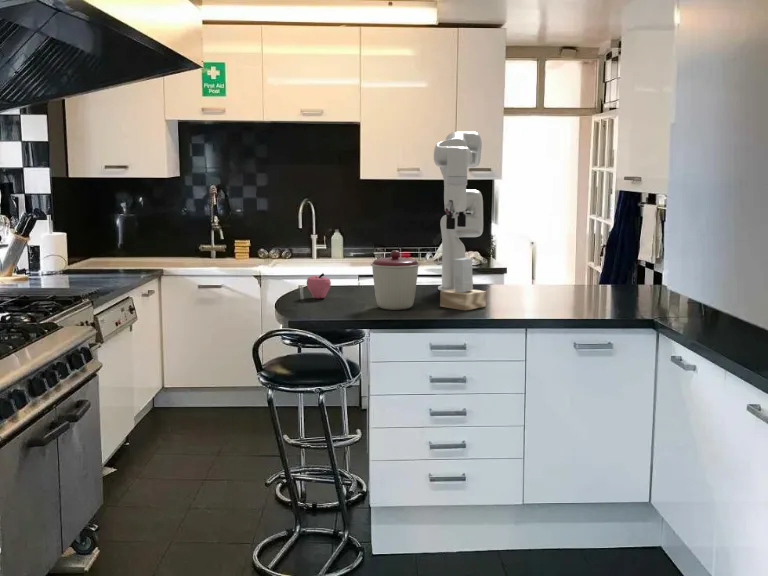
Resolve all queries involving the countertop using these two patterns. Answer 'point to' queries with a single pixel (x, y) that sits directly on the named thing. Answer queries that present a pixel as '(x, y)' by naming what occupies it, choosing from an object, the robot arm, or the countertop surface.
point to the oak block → (463, 299)
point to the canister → (395, 281)
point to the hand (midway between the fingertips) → (456, 227)
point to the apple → (318, 285)
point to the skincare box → (463, 275)
